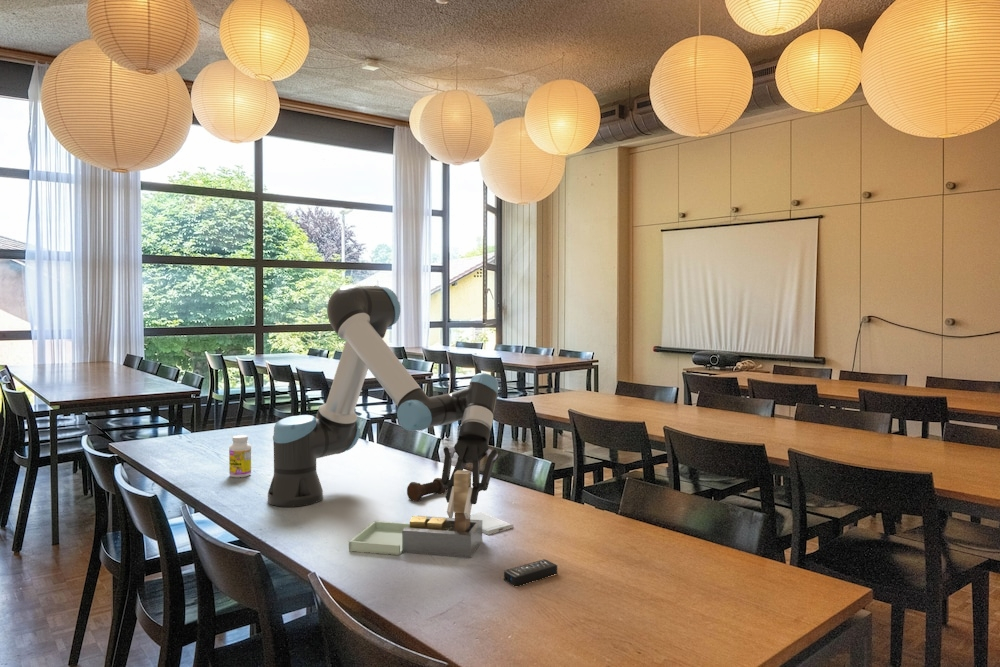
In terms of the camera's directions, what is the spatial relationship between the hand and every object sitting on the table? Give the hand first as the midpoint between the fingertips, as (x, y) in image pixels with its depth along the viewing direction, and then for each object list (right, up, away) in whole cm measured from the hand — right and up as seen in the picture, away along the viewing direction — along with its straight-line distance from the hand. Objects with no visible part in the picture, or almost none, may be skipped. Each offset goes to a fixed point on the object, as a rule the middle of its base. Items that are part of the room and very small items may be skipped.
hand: (458, 515), depth 152 cm
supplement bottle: (-75, -6, +69) cm, 102 cm away
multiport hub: (+16, -10, -12) cm, 22 cm away
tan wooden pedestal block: (+1, -4, +4) cm, 6 cm away
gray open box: (-4, -9, +5) cm, 11 cm away
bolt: (-11, -7, +48) cm, 49 cm away
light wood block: (-10, -5, +6) cm, 13 cm away
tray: (-17, -8, +8) cm, 21 cm away
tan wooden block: (-5, -6, +5) cm, 9 cm away
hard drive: (+6, -9, +21) cm, 23 cm away
